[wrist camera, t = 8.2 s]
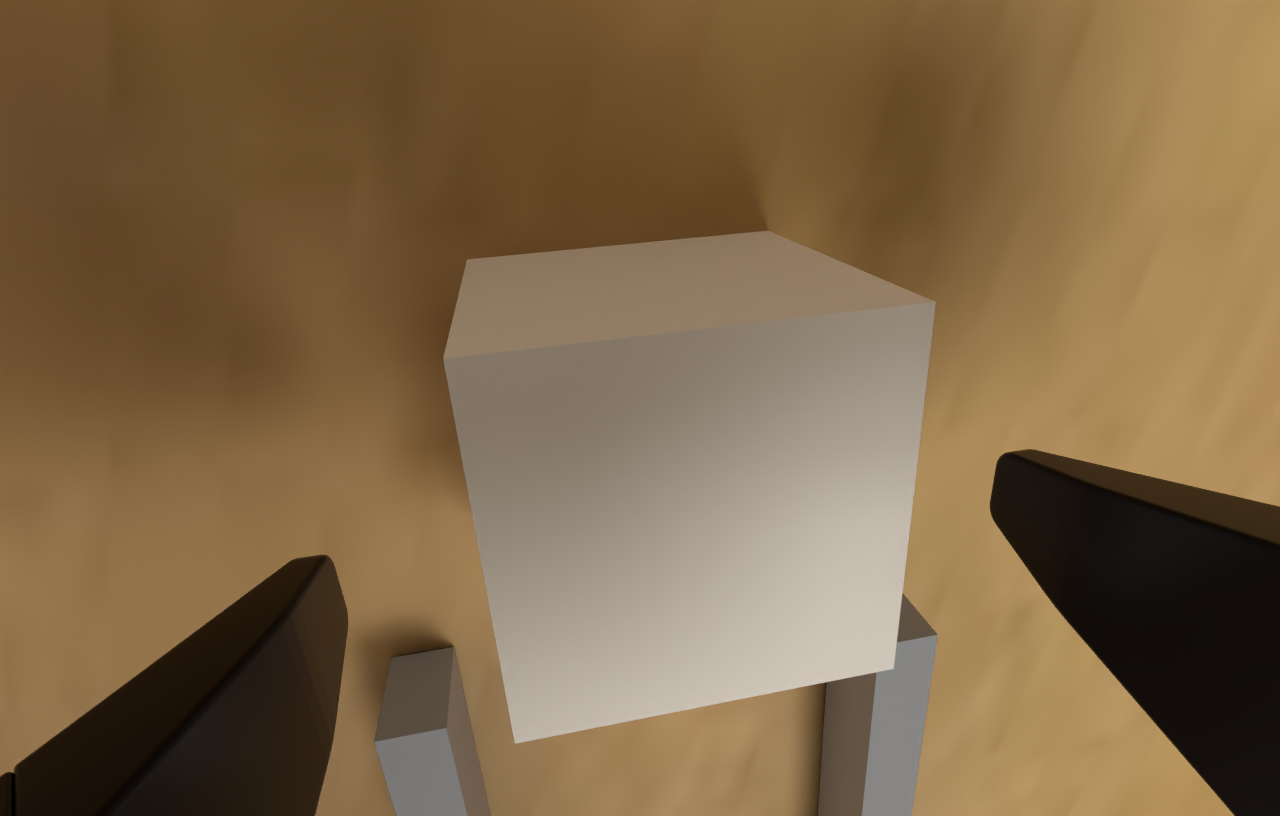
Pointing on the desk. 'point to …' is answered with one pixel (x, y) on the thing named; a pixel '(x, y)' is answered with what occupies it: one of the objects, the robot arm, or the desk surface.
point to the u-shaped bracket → (851, 750)
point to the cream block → (686, 470)
